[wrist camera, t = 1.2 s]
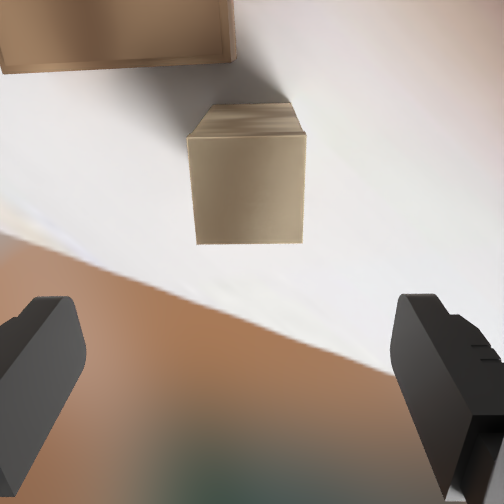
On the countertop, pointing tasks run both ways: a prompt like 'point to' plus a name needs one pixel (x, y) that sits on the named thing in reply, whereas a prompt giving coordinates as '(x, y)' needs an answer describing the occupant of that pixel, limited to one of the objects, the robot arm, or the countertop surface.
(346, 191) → the countertop surface
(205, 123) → the oak block
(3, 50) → the walnut box
